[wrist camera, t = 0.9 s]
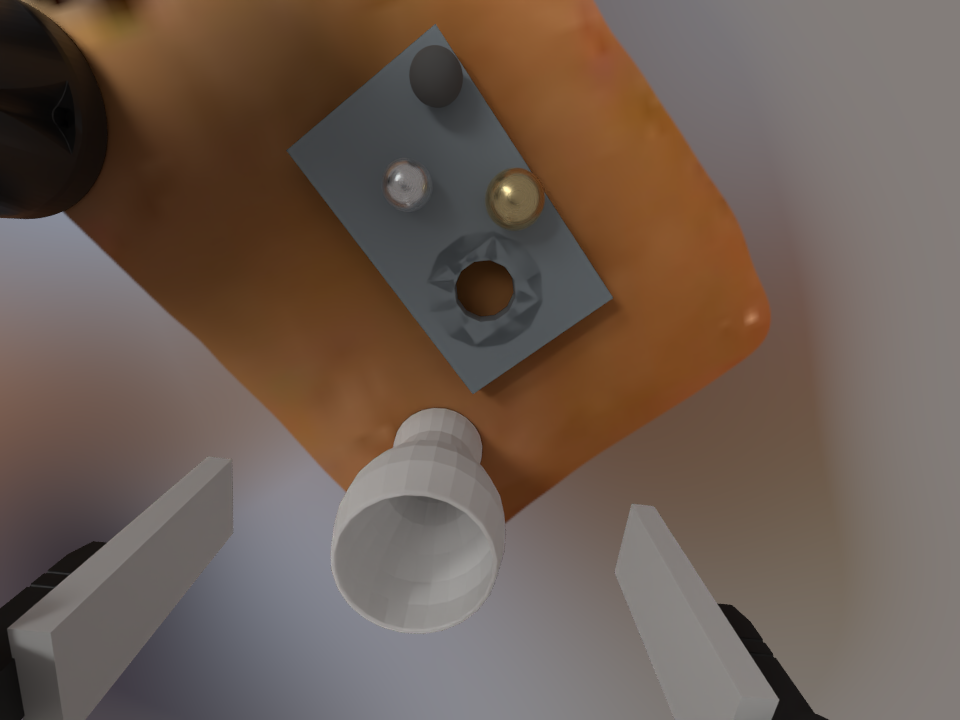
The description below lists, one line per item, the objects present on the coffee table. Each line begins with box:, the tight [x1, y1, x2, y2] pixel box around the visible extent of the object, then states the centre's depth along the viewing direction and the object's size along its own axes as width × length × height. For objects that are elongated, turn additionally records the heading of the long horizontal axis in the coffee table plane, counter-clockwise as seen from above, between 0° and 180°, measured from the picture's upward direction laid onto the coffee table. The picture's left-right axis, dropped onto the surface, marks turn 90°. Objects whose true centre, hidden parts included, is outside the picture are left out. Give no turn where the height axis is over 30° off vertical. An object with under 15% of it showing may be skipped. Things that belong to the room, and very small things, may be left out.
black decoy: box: [409, 45, 463, 108], centre depth 30 cm, size 3×3×3 cm
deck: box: [286, 24, 613, 394], centre depth 35 cm, size 22×13×2 cm, turn 36°
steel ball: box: [381, 158, 433, 212], centre depth 31 cm, size 3×3×3 cm
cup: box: [331, 408, 506, 634], centre depth 33 cm, size 11×11×15 cm
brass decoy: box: [485, 168, 545, 231], centre depth 31 cm, size 4×4×4 cm
